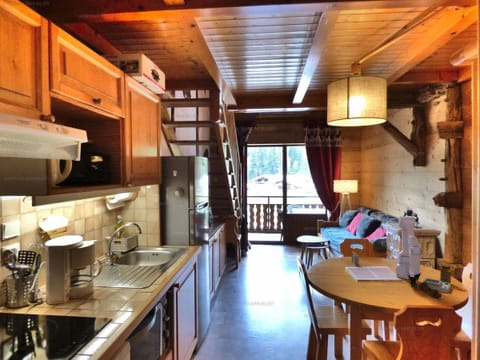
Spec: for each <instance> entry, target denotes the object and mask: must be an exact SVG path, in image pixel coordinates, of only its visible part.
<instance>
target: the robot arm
mask: <svg viewBox="0 0 480 360" xmlns="http://www.w3.org/2000/svg"><path fill="white" fill-rule="evenodd" d="M397 223H398V228H399V229H401V251H400V252H398V253H397V264H396V269H395V271H396V272H395V277H396V276H397V277H396V278H401V279H404V280H409V282H410V287H411V286H412V287H415V285H416V281H417V280H418V281H419V279H420V276H421V275H422V273H423V272H422V271H421V269H420V268H421V256H422V255H423V254H422V250H423V249H422V247H421V245H420V244H419V241H418V238H417V236H415V230H414V227H415V225H416V217H415V216H402V215H401V216H399V217H398V222H397ZM412 287H411V288H412Z"/></svg>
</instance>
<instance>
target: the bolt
mask: <svg viewBox="0 0 480 360" xmlns="http://www.w3.org/2000/svg"><path fill="white" fill-rule="evenodd" d="M418 288H419V290H420V291H423V292H424V291H425V292H427V293H428V294H430V296H431V297H433V298H436V299H442V297H443V295H442V293H440V291H438V290H436V289H432V288H430V287H428V285H427V283H425V282H423V281H422V282H420V283H419V284H418Z"/></svg>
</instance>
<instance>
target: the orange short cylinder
mask: <svg viewBox="0 0 480 360" xmlns="http://www.w3.org/2000/svg"><path fill="white" fill-rule="evenodd" d="M410 288H412V289H418V288H419V280H417V281H416V285H415V287H412V286H411V285H410Z"/></svg>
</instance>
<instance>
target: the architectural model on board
mask: <svg viewBox="0 0 480 360" xmlns="http://www.w3.org/2000/svg"><path fill="white" fill-rule="evenodd" d="M359 260H360V259H359V255H358V254H357V253H356V252H355V251H353V249H352V250H351V262H352V263H353V264H354V265H355V266H359V263H360V262H359Z"/></svg>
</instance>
